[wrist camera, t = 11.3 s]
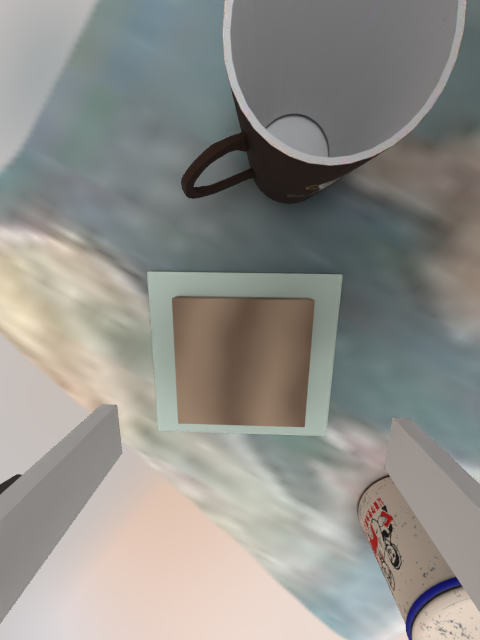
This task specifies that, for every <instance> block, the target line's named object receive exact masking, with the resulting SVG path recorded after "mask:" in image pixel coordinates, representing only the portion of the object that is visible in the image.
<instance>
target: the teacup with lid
mask: <svg viewBox="0 0 480 640" xmlns="http://www.w3.org/2000/svg"><path fill="white" fill-rule="evenodd" d="M358 515H359V520H360V523H361V525H362V528H363V530H364V532H365V534H366V536H367V539H368V541H369V543H370V545H371V548H372V550H373V552H374V554H375V557H376V559H377V561H378V563H379V566H380V568H381V570H382V572H383V575H384V577H385V579H386V581H387V583H388V586H389V588H390V590H391V592H392V595H393V597H394V599H395V601H396V604H397V606H398V608H399V610H400V613H401V615H402V617H403V619H404V621H405V624H406V632H407V636H408V638H409V640H480V612H479V611H478V609H477V608H476V606H475V605H474V603H473V602H472V600H471V599H470V597H469V596H468V594H467V592H466V591H465V589H464V588H463V586H462V585H461V583H460V582H459V580H458V579H457V577H456V576H455V574H454V573H453V571H452V570H451V568H450V567H449V565H448V564H447V562H446V561H445V559H444V558H443V556H442V555H441V553H440V552H439V550H438V549H437V547H436V545H435V544H434V542H433V541H432V539H431V538H430V536H429V535H428V533H427V532H426V530H425V529H424V527H423V526H422V524H421V523H420V521H419V520H418V518H417V517H416V515H415V514H414V512H413V511H412V509H411V508H410V506H409V505H408V503H407V501H406V500H405V498H404V497H403V495H402V494H401V492H400V491H399V489H398V488H397V486H396V485H395V483H394V482H393V480H392V479H391V477H387V478H384V479H382V480H380V481H378V482H376V483H375V484H373V485H372V486H371V487H370V488H369V489H368V490H367V491H366V492H365V493H364V495H363V496H362V498H361V500H360V503H359V508H358Z"/></svg>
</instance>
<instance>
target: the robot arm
mask: <svg viewBox="0 0 480 640" xmlns="http://www.w3.org/2000/svg"><path fill="white" fill-rule="evenodd" d="M121 454H122V446H121V437H120V428H119V419H118V409H117V405H108V404H102V405H101V406H99V407H98V408H97V409H96V410H95V411H94V412H93V413H92V414H90V415H89V416H88V417H87V418H86V419H85V420H84V421H83V422H81V423H80V424H79V425H78V426H77V427H76V428H75V429H74V430H72V431H71V432H70V433H69V434H68V435H67V436H66V437H65V438H64V439H62V440H61V441H60V442H59V443H58V444H57V445H56V446H54V447H53V448H52V449H51V450H50V451H49V452H48V453H47V454H45V455H44V456H43V457H42V458H41V459H40V460H39V461H38V462H36V463H35V464H34V465H33V466H32V467H31V468H30V469H29V470H28V471H26V472H25V473H24V474H23V475H18V474H17V475H15V476H13V477H12V478H10V479H9V480H7V481H5V482H3V483H2V484H0V623H1V622H2V621H3V619H4V618H5V616H6V615H7V614H8V612H9V610H10V609H11V608H12V607H13V605H14V604H15V602H16V601H17V599H18V598H19V597H20V595H21V594H22V593H23V591H24V590H25V588H26V587H27V586H28V584H29V583H30V581H31V580H32V579H33V577H34V576H35V574H36V573H37V572H38V570H39V568H40V567H41V566H42V565H43V563H44V562H45V560H46V559H47V558H48V556H49V555H50V553H51V552H52V551H53V549H54V548H55V546H56V545H57V544H58V542H59V541H60V539H61V538H62V537H63V535H64V534H65V532H66V531H67V530H68V528H69V527H70V525H71V524H72V522H73V521H74V520H75V518H76V517H77V516H78V514H79V513H80V511H81V510H82V509H83V507H84V506H85V504H86V503H87V502H88V500H89V499H90V497H91V496H92V495H93V493H94V492H95V490H96V489H97V488H98V486H99V485H100V483H101V482H102V481H103V479H104V478H105V476H106V475H107V474H108V472H109V471H110V469H111V468H112V467H113V465H114V464H115V462H116V461H117V460H118V458H119V457H120V455H121ZM384 468H385V470H386V471H387V473H388V474H389V476H390V477H391V479H392V480H393V482H394V483H395V485H396V486H397V488H398V489H399V491H400V492H401V494H402V495H403V497H404V498H405V500H406V501H407V503H408V505H409V506H410V508H411V509H412V511H413V512H414V514H415V515H416V517H417V518H418V520H419V521H420V523H421V524H422V526H423V527H424V529H425V530H426V532H427V533H428V535H429V536H430V538H431V539H432V541H433V542H434V544H435V545H436V547H437V549H438V550H439V552H440V553H441V555H442V556H443V558H444V559H445V561H446V562H447V564H448V565H449V567H450V568H451V570H452V571H453V573H454V574H455V576H456V577H457V579H458V580H459V582H460V583H461V585H462V586H463V588H464V589H465V591H466V592H467V594H468V596H469V597H470V599H471V600H472V602H473V603H474V605H475V606H476V608H477V609H478V611H479V612H480V484H479V483H478V482H477V481H476V480H475V479H473V478H472V477H471V476H470V475H469V474H468V473H467V472H466V471H465V470H464V469H463V468H462V467H461V466H460V465H459V464H458V463H457V462H456V461H455V460H453V459H452V458H451V457H450V456H449V455H448V454H447V453H446V452H445V451H444V450H443V449H442V448H441V447H440V446H439V445H438V444H437V443H436V442H435V441H433V440H432V439H431V438H430V437H429V436H428V435H427V434H426V433H425V432H424V431H423V430H422V429H421V428H420V427H419V426H418V425H417V424H416V423H415V422H413V421H412V420H411V419H410V418H395V417H393V419H392V425H391V431H390V437H389V443H388V449H387V455H386V460H385V466H384Z"/></svg>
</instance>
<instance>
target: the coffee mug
mask: <svg viewBox="0 0 480 640" xmlns="http://www.w3.org/2000/svg"><path fill="white" fill-rule="evenodd" d="M466 5H467V0H225V5H224V17H223V30H222V36H223V49H224V61H225V65H226V69H227V74H228V78H229V82H230V86H231V90H232V94H233V98H234V102H235V106H236V110H237V115H238V119H239V123H240V127H241V131H242V132H241V133H239V134H236V135H233V136H230V137H228V138H226V139H224V140H221V141H219V142H216V143H214V144H213V145H211V146H210V147H209V148H207V149H206V150H205V151H204V152H203V153H202V154H201V155H200V156H199V157H198V158H197V159H196V160H195V161H194V162H193V163H192V164H191V165H190V167H189V168H188V169H187V171H186V172H185V174H184V175H183V177H182V180H181V185H182V190H183V191H184V193H185V195H186V196H187V197H188V198H192V199H194V198H200V197H204V196H208V195H211V194H214V193H217V192H219V191H222V190H224V189H226V188H229V187H231V186H233V185H236V184H238V183H240V182H242V181H245V180H247V179H250V178H254V180H255V183H256V185H257V186H258V187H259V189H260V190H261V191H262V192H263V193H264V194H265V195H266V196H267V197H269V198H271V199H272V200H275V201H277V202H280V203H288V204H289V203H297V202H300V201H304V200H306V199H307V198H309V197H311V196H313V195H314V194H316V193H317V192H319V191H321V190H322V189H324V188H326V187H327V186H329V185H330V184H332V183H334V182H335V181H337V180H338V179H340V178H342V177H343V176H345V175H346V174H348V173H350V172H351V171H353V170H355V169H356V168H358V167H359V166H361V165H363V164H364V163H366V162H367V161H369V160H371V159H372V158H374V157H375V156H377V155H379V154H380V153H382V152H383V151H385V150H387V149H388V148H390V147H392V146H393V145H395V144H396V143H397V142H398V141H399V140H401V139H402V138H403V137H404V136H406V135H407V134H408V133H409V132H410V131H412V130H413V129H414V128H415V127H416V126H417V124H418V123H419V122H420V121H421V120H422V119H423V118H424V116H425V115H426V114H427V113H428V112H429V111H430V110H431V108H432V106H433V105H434V103H435V102H436V100H437V98H438V97H439V95H440V94H441V92H442V90H443V89H444V87H445V86H446V83H447V81H448V79H449V76H450V74H451V72H452V69H453V67H454V65H455V62H456V60H457V56H458V53H459V49H460V45H461V41H462V37H463V33H464V27H465V16H466ZM234 150H240V151H244V152H246V151H247V156H248V160H249V164H250V169H248V170H246V171H244V172H242V173H239V174H237V175H234V176H232V177H230V178H227V179H225V180H222V181H220V182H217V183H215V184H212V185H209V186H201V187H193V186H194V183H195V181H196V180H197V178H198V177H199V176H200V174H201V173H202V172H203V171H204V170H205V168H206V167H208V166H209V165H210V164H211V163H212V162H214V161H215V160H217V159H218V158H220V157H222V156H223V155H225V154H226V153H228V152H231V151H234Z"/></svg>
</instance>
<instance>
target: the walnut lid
mask: <svg viewBox="0 0 480 640" xmlns="http://www.w3.org/2000/svg"><path fill="white" fill-rule="evenodd" d="M314 305H315V300H313V299H311V298H284V297H216V296H176V297H174V298H172V312H173V332H174V352H175V372H176V392H177V411H178V424H208V425H243V426H277V427H305V418H306V405H307V393H308V380H309V367H310V355H311V342H312V330H313V317H314Z"/></svg>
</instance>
